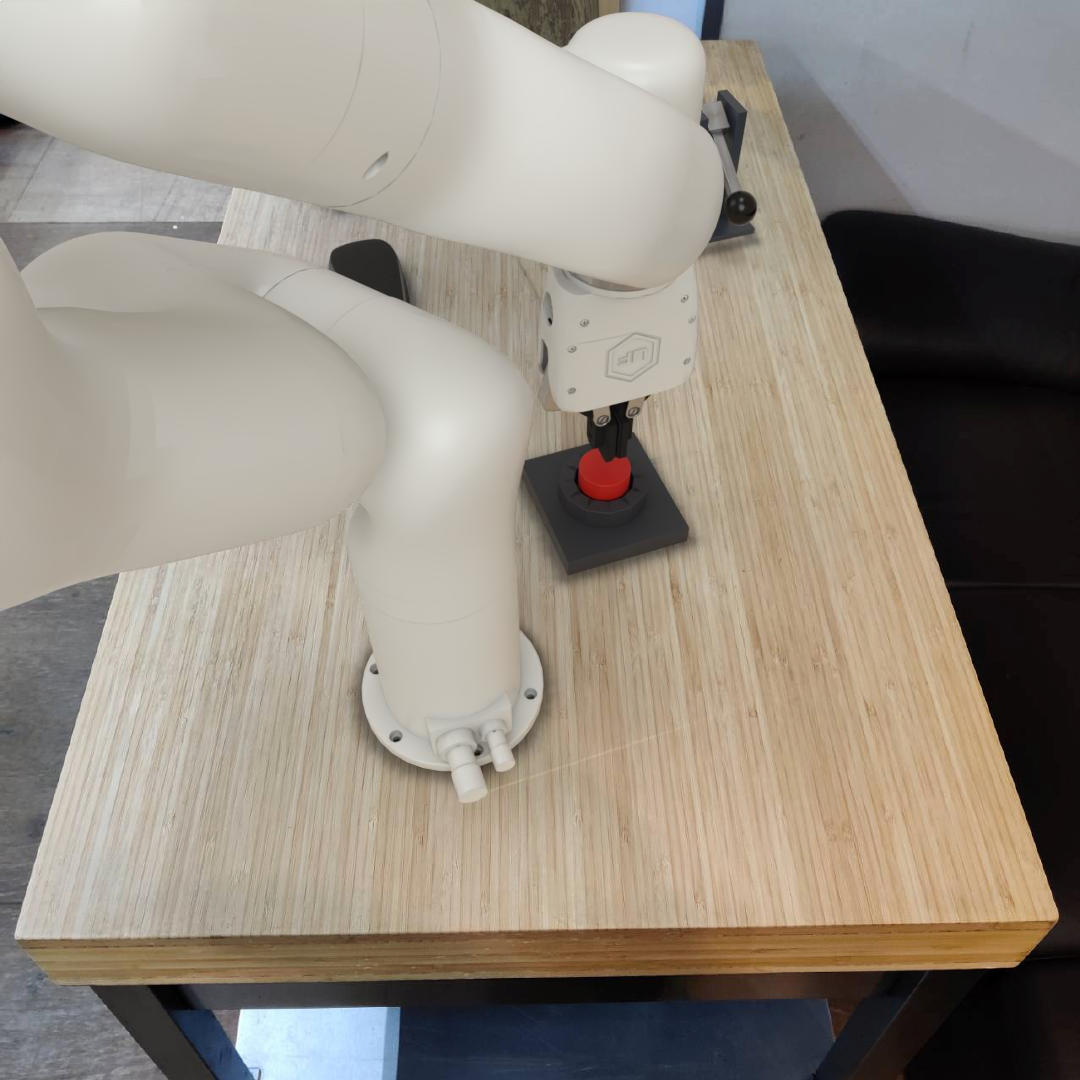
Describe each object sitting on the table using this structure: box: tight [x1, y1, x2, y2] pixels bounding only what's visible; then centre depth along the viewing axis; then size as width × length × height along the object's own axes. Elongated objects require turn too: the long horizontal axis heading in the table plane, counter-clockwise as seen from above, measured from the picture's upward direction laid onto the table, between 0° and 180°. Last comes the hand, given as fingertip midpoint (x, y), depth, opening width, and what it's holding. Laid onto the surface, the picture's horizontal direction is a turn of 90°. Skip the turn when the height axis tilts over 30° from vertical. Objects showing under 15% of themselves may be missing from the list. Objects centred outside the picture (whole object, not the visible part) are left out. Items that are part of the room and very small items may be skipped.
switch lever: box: [702, 100, 758, 226], centre depth 94 cm, size 12×3×3 cm, turn 20°
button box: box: [521, 431, 690, 576], centre depth 78 cm, size 11×10×4 cm
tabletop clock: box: [474, 0, 600, 48], centre depth 106 cm, size 14×9×25 cm, turn 80°
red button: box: [578, 448, 631, 501], centre depth 76 cm, size 4×4×2 cm
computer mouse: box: [328, 238, 411, 304], centre depth 95 cm, size 7×12×4 cm, turn 22°
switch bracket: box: [700, 89, 756, 244], centre depth 98 cm, size 10×8×13 cm
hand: (608, 446), depth 74 cm, fingers closed
